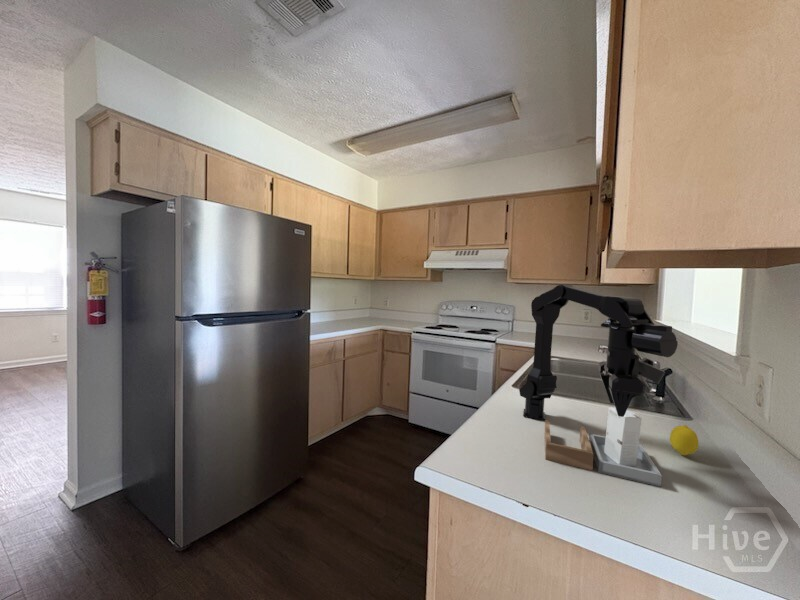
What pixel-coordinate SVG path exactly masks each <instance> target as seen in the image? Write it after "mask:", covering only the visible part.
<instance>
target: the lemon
mask: <svg viewBox="0 0 800 600" xmlns="http://www.w3.org/2000/svg"><path fill="white" fill-rule="evenodd" d="M669 442H670V444H671V446H672V448H673V450H675V451H676V452H678V453H679V454H680V455H681V456H684V457H685V456H687V455H693V454H694V453H696V452H697V450H698V448H699V438H698V435H697V433H696V432H695V431H694V429H692V428H690V427H688V425H685V424H682V425H678V426H675V427H674V428H673V429H672V430H671V432H670V435H669Z"/></svg>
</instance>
